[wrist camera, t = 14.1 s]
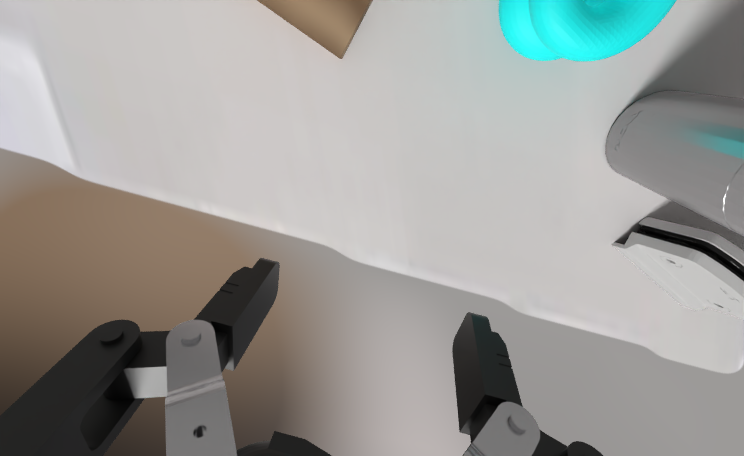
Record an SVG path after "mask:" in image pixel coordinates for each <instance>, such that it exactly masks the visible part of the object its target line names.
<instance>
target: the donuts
mask: <svg viewBox="0 0 744 456" xmlns="http://www.w3.org/2000/svg"><path fill="white" fill-rule="evenodd" d="M675 2H676V0H499V20H500V25H501V29H502V31H503V34H504V36H505V38H506V40H507V41H508V43H509V44H510V45H511V47H512V48H513V49H514V50H515V51H516V52H518V53H519V54H521V55H522V56H524V57H527V58H529V59H533V60H539V61H549V60H556V59H560V58H565V59H568V60H573V61H595V60H601V59H605V58H608V57H611V56H613V55H616V54H618V53H620V52H622V51H624V50H626V49H628V48H630V47H631V46H633V45H634V44H636V43H637V42H639V41H640V40H641V39H643V38H644V37H645V36H646V35H647V34H649V33H650V32H651V31H652V30H653V29H654V28H655V27H656V26H657V25H658V24H659V23H660V22H661V20H662V19H663V18H664V17H665V16H666V14H667V13H668V12H669V10H670V9H671V8H672V6H673V5H674V3H675Z"/></svg>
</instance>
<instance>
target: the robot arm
mask: <svg viewBox="0 0 744 456" xmlns="http://www.w3.org/2000/svg"><path fill="white" fill-rule="evenodd" d="M606 157H607V161H608V163H609V165H610V166H611V168H612V169H613V170H614V171H616V172H617V173H619V174H621V175H623V176H625V177H627V178H629V179H630V180H632V181H634V182H636V183H638V184H640V185H642V186H644V187H646V188H648V189H650V190H652V191H654V192H656V193H658V194H660V195H662V196H664V197H666V198H668V199H670V200H672V201H674V202H676V203H678V204H680V205H682V206H684V207H686V208H688V209H690V210H692V211H694V212H696V213H697V214H699V215H701V216H703V217H705V218H707V219H709V220H711V221H713V222H715V223H717V224H719V225H721V226H723V227H725V228H727V229H729V230H731V231H733V232H735V233H737V234H740V235H742V236H744V99H741V98H733V97H724V96H716V95H709V94H700V93H691V92H682V91H661V92H656V93H653V94H650V95H648V96H645V97H643V98H642V99H640V100H638V101H636V102H635V103H634V104H632V105H631V106H630V107H628V108H627V109H626V110H625V111H624V112H623V113H622V114H621V115H620V116H619V117H618V119H617V120H616V122H615V123H614V125H613V126H612V128H611V130H610V132H609V135H608V137H607V142H606ZM279 266H280V265H279V262H275V261H272V260H268V259H264V258H260V259H259V260H258V261H257V263H256V264H255V265H254V267H253V268H248V267H243V268H241V269H240V270H238V271H236V272H234V273H233V274H232V275H231V276H230V278H229V279H228V280H227V281H226V283H225V284H224V285H223V286H222V287H221V288H220V291H218V292H217V293H216V294H215V295H214V297H213V298H212V299H211V300H210V301H209V302H208V304H207V305H206V306H205V307H204V308H203V310H202V311H201V312H200V313H199V315H197V317H196V318H195V319H194V320H190V321H186V322H183V323H181V324H179V325H177V326H176V327H174V328H173V329H172V330H171V331H154V332H140V329H139V327H138V325H137V324H136V323H134V322H132V321H129V320H115V321H111V322H108V323H105V324H103V325H100V326H98V327H97V328H95V329H94V330H92V331H91V332H90V333H89V334H88V335H87V336H86V337H85V338H83V339H82V340H81V341H80V342H79V343H78V344H77V345H76V346H75V347H74V348H73V349H72V350H70V351H69V352H68V353H67V354H66V355H65V356H64V357H63V358H62V359H61V360H60V361H59V362H58V363H57V364H55V366H53V367H52V368H51V369H50V370H49V371H48V372H47V373H46V374H45V375H44V376H43V377H41V378H40V380H38V381H37V382H36V383H35V384H34V385H33V386H32V387H31V388H30V389H29V390H28V391H27V392H25V393H24V394H23V395H22V396H21V397H20V398H19V399H18V400H17V401H16V402H15V403H13V404H12V405H11V406H10V407H9V408H8V409H7V410H6V411H5V412H4V413H3V414H2V415H1V416H0V456H103V455H104V454H105V452H106V451H107V450H108V448H109V447H110V446H111V444H112V443H113V441H114V440H115V439H116V437H117V436H118V435H119V433H120V432H121V430H122V429H123V428H124V426H125V425H126V423H127V422H128V421H129V419H130V418H131V417H132V415H133V414H134V412H135V411H136V410H137V408H138V407H139V406H140V404H141V403H142V401H143V400H144V399H145V398H150V397H164V396H167V397H166V400H165V413H166V456H331V455H330V454H328V453H326V452H325V451H323V450H322V449H320V448H318V447H317V446H315V445H314V444H312V443H310V442H309V441H307V440H305V439H302V438H298V437H295V436H291V435H287V434H283V433H280V432H276V431H274V434H273V436H272V439H271V441H263V442H257V443H254V444H250V445H247V446H245V447H243V448H241V449H238V450H237V451H236V446H235V440H234V434H233V429H232V423H231V417H230V411H229V406H228V400H227V394H226V388H225V383H224V380H223V378H222V371H223V370H224V368H226V369H229V370H233V371H234V369H235V368H236V366H237V364H238V363H239V361H240V359H241V358H242V356H243V354H244V353H245V351H246V349H247V348H248V346H249V344H250V342H251V341H252V339H253V337H254V336H255V334H256V332H257V331H258V329H259V327H260V325H261V324H262V322H263V320H264V318H265V317H266V315H267V314H268V312H269V310H270V308H271V307H272V305H273V303H274V301H275V299H276V296H277V291H278V280H279ZM453 363H454V374H455V385H456V396H457V407H458V418H459V430H460V432H461V433H465V434H468V435H470V437H471V444H470V446H469V447H468V449H467V450H466V451H465V453H464V454H463V456H603V455H602V454H601V453H600V452H599V451H597V450H596V449H595V448H593V447H592V446H590V445H588V444H586V443H584V442H579V441H576V442H573V443H571V444H570V445H569V446H568V447H567V446H566V445H564V444H562V443H560V442H559V441H557V440H555V439H554V438H552V437H550V436H548V435H547V434H545V433H544V432H542V431H541V430H540V429H539V427H538V424H537V423H536V421H535V419H534V418H533V416H532V415H531V414H530V413H529V412H528V411H527V410H526V409H525V408H523V406H522V403H521V399H520V395H519V392H518V388H517V385H516V381H515V377H514V374H513V370H512V369H511V367H512V366H511V362H510V359H509V355H508V351H507V348H506V345H505V343H504V341H503V340H502V338H501V337H500V335H499V334H498V333H496V332H492V331H491V328H490V324H489V320H488V318H487V317H485V316H481V315H477V314H474V313H470V312H469V313H467V314H466V316H465V318H464V320H463V322H462V324H461V326H460V328H459V330H458V332H457V334H456V336H455V338H454V342H453Z"/></svg>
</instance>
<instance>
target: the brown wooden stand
mask: <svg viewBox="0 0 744 456" xmlns="http://www.w3.org/2000/svg"><path fill="white" fill-rule="evenodd" d="M257 1H259V2H260V3H262V4H263V5H264V6H266V7H267V8H269V9H270V10H272V11H273V12H274V13H276V14H277V15H279V16H280V17H282V18H283V19H284V20H286V21H287V22H289V23H290V24H291V25H293V26H294V27H296V28H297V29H299V30H300V31H301V32H303V33H304V34H306V35H307V36H309V37H310V38H311V39H313V40H314V41H316V42H317V43H319V44H320V45H321V46H323V47H324V48H326V49H327V50H328V51H330V52H331V53H333V54H334V55H336V56H337V57H338V58H340V59H342V58H343V56H344V54H345V52H346V50H347V48H348V47H349V45H350V43H351V41H352V39H353V37H354V35H355V33H356V31H357V29H358V27H359V25H360V24H361V22H362V20H363V18H364V16H365V14H366V12H367V10H368V8H369V6H370V4H371V2H372V1H373V0H257Z"/></svg>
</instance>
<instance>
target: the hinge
mask: <svg viewBox="0 0 744 456" xmlns="http://www.w3.org/2000/svg"><path fill="white" fill-rule="evenodd" d="M639 224H640V225H641V227H640V228H641V229H642V230H643V231H644V232H645V233H644V232H640V231H637V233H634V232H632V233H631V234H630V236H629V238H628V240H627V241H626V243H625V245H623V244H619V243H616V242H614V243H613V244H612V246H613V247H614V248H615V249H616V250H617V251H619V252H620V253H621V254H622V255H623V256H624V257H626V258H627V259H628V260H629V261H630V262H631V263H632V264H634V265H635V266H636V267H637V268H638V269H639V270H640V271H642V272H643V273H644V274H645V275H646V276H647V277H648V278H650V279H651V280H652V281H653V282H654V283H655V284H656V285H658V286H659V287H660V288H661V289H662V290H663V291H665V292H666V293H667V294H668V295H669V296H670V297H671V298H673V299H674V300H675V301H676V302H677V303H678V304H679V305H681V306H683V307H686V308H688V309H691V310H693V311H698V310H702V309H707V308H709V309H712V310H715V311H718V312H721V313H724V314H727V315H730V316H733V317H736V318H739V319H741V320H744V251H743V250H742V249H740V248H739V247H737V246H736V245H734V244H733V243H731V242H730V241H728V240H727V239H725V238H723V237H722V236H720V235H718V234H716V233H714V232H711V231H707V230H702V229H698V228H694V227H689V226H685V225H681V224H676V223H672V222H668V221H664V220H659V219H655V218H651V217H646V218H644V219H643V220H642V221H641V222H640V223H639Z"/></svg>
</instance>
